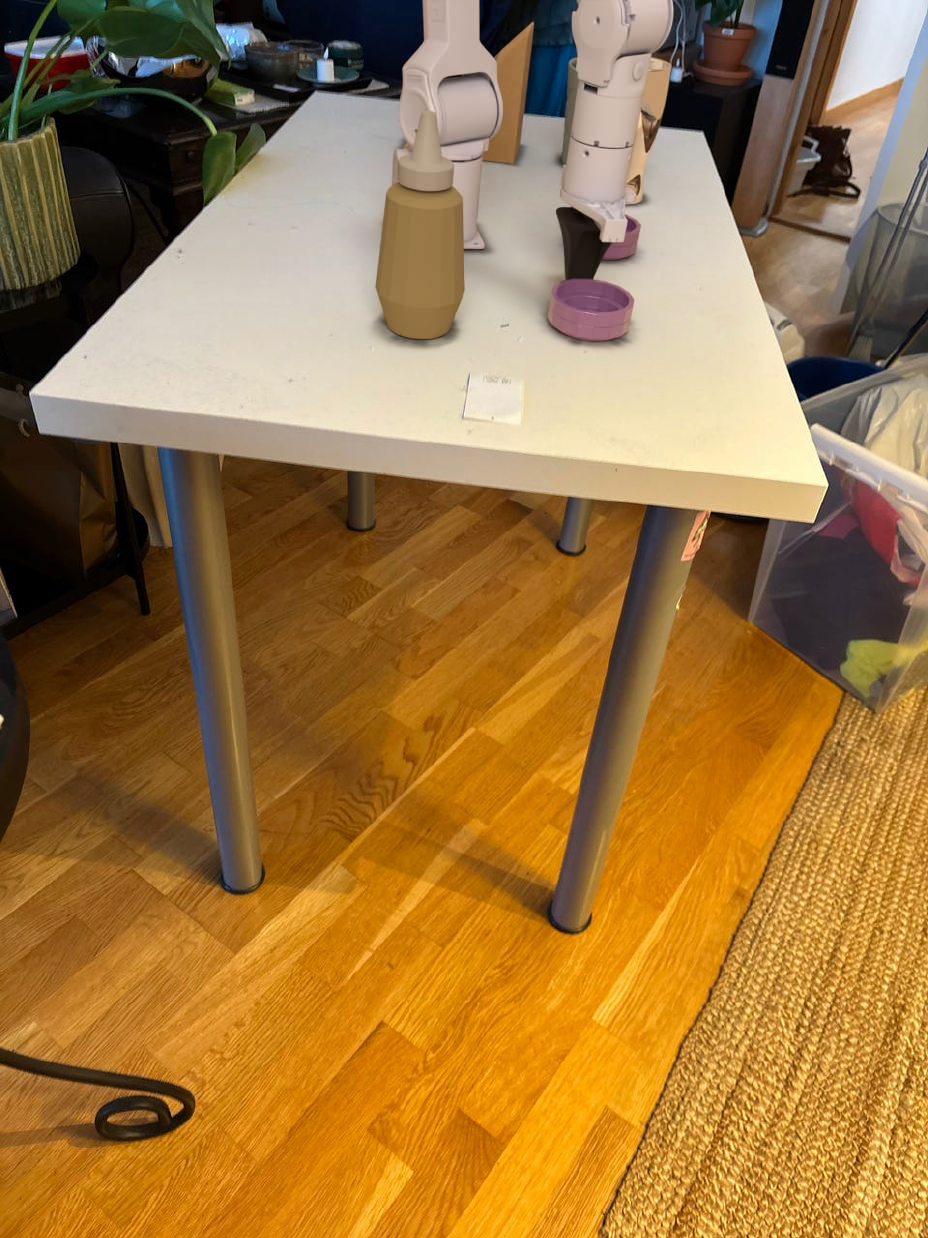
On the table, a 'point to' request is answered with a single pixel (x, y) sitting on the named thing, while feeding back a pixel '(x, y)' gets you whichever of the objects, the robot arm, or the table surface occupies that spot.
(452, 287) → the squeeze bottle
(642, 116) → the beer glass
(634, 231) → the dish far
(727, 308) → the table surface
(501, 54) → the sandwich container
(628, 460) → the table surface
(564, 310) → the dish near
